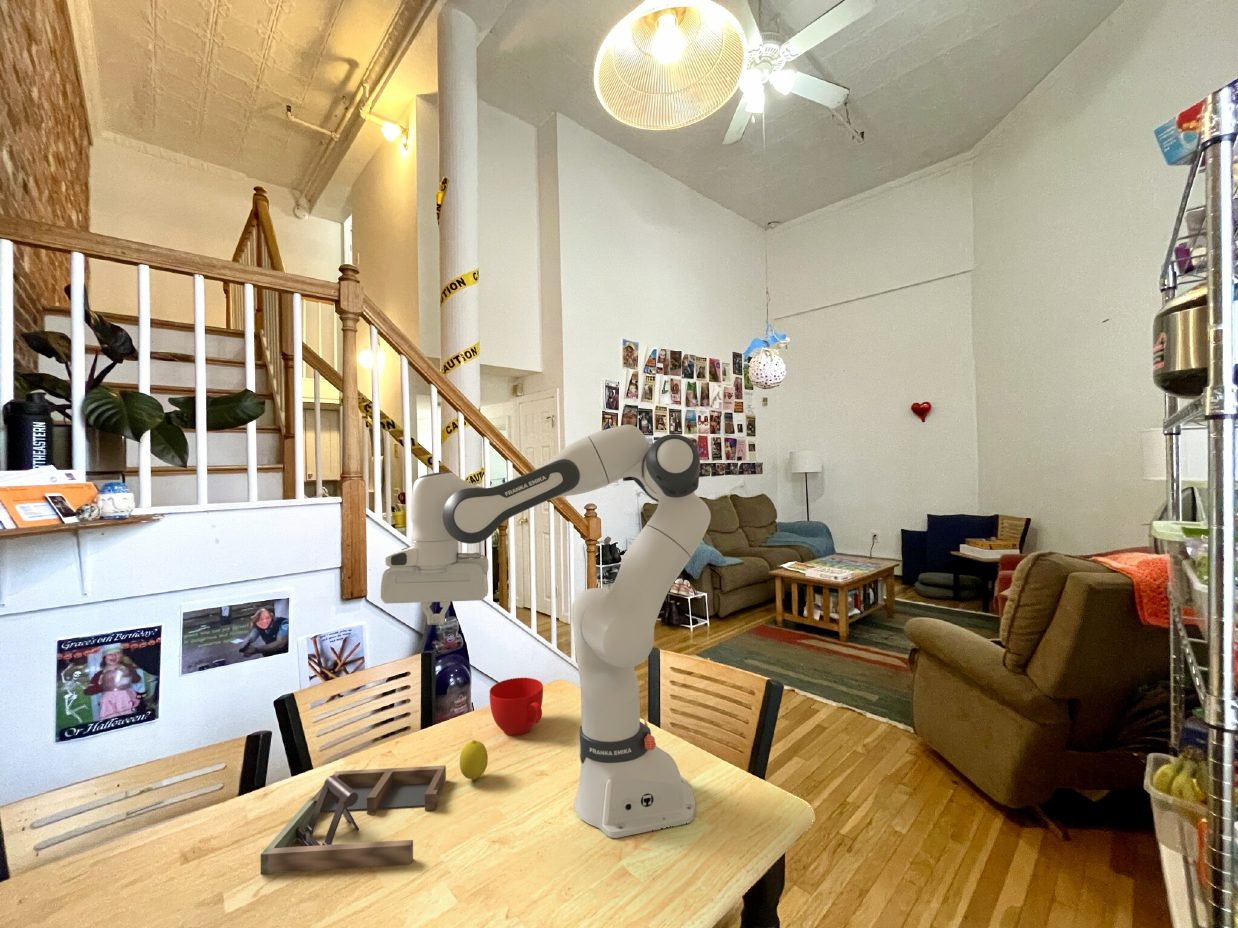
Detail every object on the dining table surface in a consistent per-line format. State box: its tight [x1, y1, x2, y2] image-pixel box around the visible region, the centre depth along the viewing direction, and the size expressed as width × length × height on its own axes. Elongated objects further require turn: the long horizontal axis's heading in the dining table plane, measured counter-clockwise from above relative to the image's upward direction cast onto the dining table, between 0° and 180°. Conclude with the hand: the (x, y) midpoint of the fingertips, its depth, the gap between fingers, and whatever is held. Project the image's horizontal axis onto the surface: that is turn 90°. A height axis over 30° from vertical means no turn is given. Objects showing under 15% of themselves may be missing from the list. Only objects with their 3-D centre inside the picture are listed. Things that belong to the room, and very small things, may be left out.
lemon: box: [459, 739, 489, 781], centre depth 104 cm, size 6×6×8 cm
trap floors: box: [320, 783, 430, 814], centre depth 98 cm, size 20×7×1 cm, turn 93°
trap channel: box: [260, 765, 447, 874], centre depth 92 cm, size 23×23×3 cm
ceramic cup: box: [489, 677, 544, 736], centre depth 123 cm, size 13×17×10 cm
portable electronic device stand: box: [296, 774, 360, 846], centre depth 88 cm, size 9×8×8 cm
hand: (436, 623), depth 100 cm, fingers closed
